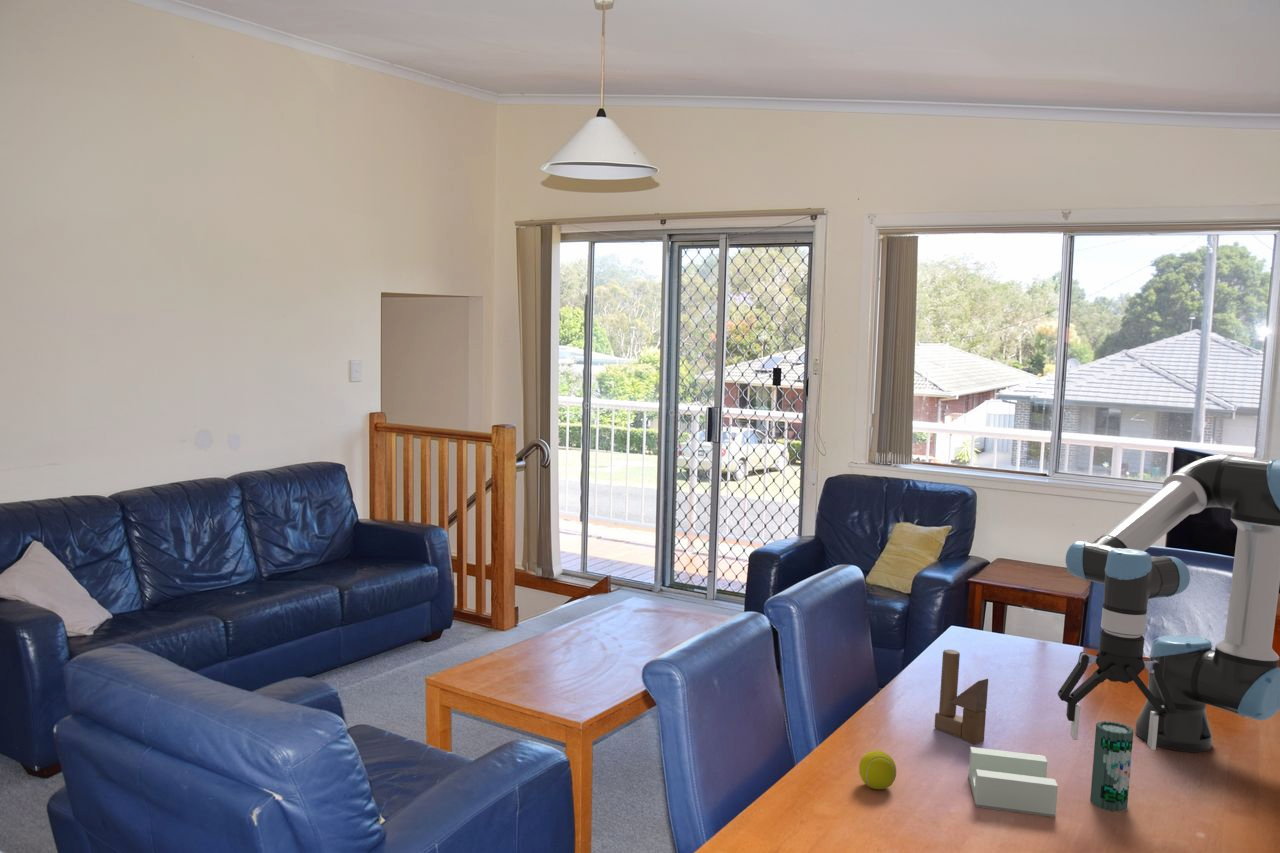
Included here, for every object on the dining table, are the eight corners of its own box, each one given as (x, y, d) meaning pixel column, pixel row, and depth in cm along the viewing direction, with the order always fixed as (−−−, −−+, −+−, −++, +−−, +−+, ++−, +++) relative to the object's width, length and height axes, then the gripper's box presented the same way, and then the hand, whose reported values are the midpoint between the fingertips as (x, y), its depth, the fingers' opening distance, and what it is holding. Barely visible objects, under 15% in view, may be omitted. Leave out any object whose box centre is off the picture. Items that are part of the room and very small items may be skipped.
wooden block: (974, 745, 218) (979, 664, 216) (933, 728, 226) (938, 650, 225) (984, 741, 220) (990, 661, 218) (944, 725, 229) (949, 647, 227)
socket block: (1042, 785, 199) (1044, 755, 198) (1055, 817, 185) (1057, 785, 185) (968, 775, 202) (970, 746, 201) (975, 806, 188) (977, 775, 188)
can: (1109, 813, 187) (1116, 735, 186) (1083, 799, 193) (1089, 723, 192) (1133, 808, 190) (1139, 731, 189) (1107, 794, 195) (1113, 719, 194)
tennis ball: (855, 778, 199) (857, 744, 198) (890, 780, 198) (892, 745, 198) (861, 794, 192) (863, 758, 191) (898, 796, 191) (901, 760, 191)
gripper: (1188, 634, 190) (1178, 743, 191) (1048, 619, 195) (1039, 726, 197) (1201, 645, 182) (1190, 759, 184) (1055, 630, 188) (1045, 740, 189)
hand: (1112, 742), depth 190 cm, fingers open, 13 cm apart
